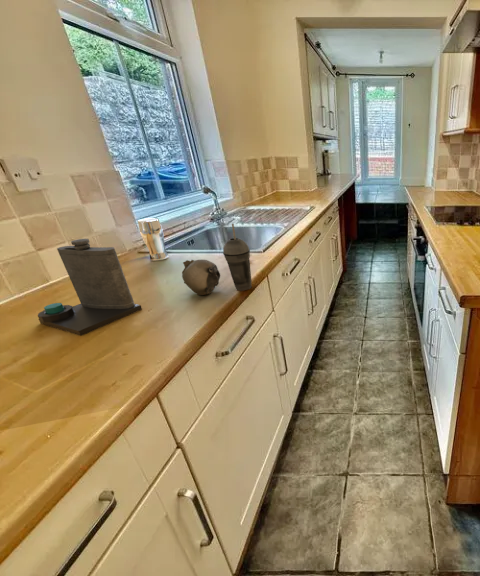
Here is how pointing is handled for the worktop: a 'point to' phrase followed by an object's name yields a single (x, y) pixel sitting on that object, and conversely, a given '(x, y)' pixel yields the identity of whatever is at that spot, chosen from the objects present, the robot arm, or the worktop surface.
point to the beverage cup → (238, 262)
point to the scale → (84, 318)
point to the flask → (96, 275)
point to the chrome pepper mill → (153, 238)
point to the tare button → (54, 308)
